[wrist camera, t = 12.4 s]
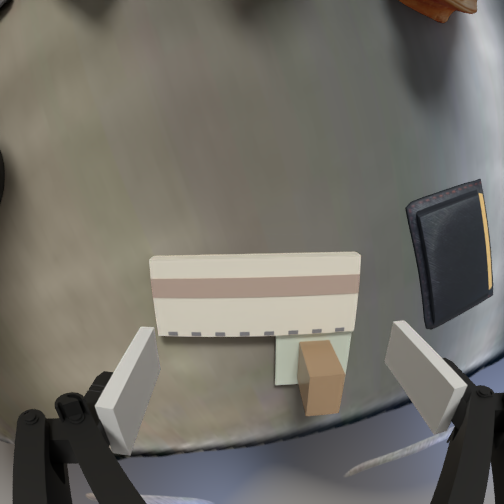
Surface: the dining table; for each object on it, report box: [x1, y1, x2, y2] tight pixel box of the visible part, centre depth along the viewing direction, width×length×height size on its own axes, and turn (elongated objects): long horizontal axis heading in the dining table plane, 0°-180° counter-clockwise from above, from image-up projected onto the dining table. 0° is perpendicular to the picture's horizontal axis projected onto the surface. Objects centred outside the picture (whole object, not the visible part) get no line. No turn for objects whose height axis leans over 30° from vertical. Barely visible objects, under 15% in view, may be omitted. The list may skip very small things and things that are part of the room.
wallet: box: [406, 179, 493, 329], centre depth 38 cm, size 20×2×15 cm
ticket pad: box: [149, 252, 361, 337], centre depth 38 cm, size 25×10×2 cm, turn 91°
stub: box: [275, 331, 352, 416], centre depth 37 cm, size 10×8×9 cm
